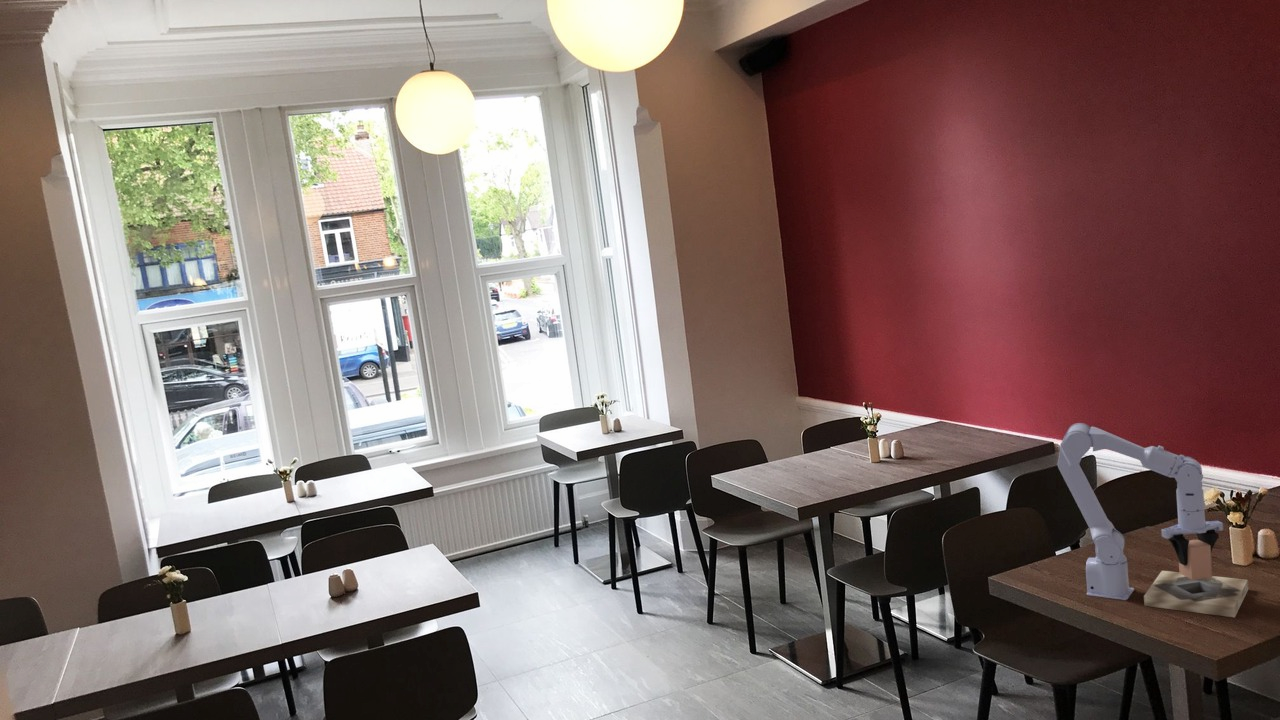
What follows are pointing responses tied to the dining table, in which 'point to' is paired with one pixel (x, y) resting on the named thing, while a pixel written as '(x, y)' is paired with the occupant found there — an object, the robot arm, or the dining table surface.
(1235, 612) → the socket board
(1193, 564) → the peg
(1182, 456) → the robot arm
